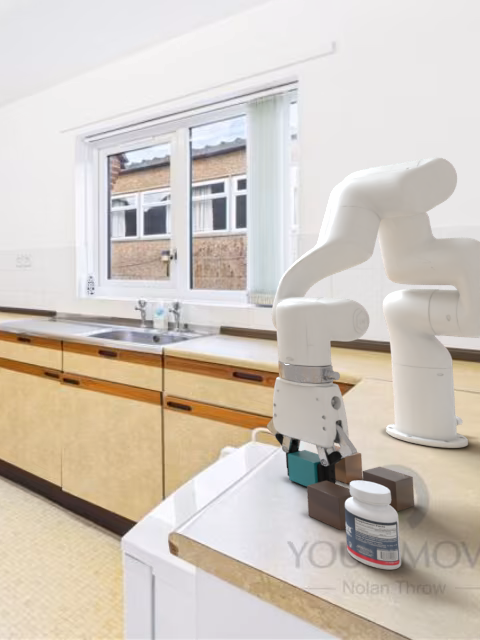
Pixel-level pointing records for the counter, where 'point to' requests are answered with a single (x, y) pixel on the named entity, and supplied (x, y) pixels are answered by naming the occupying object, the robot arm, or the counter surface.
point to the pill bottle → (372, 526)
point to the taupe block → (393, 486)
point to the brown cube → (328, 503)
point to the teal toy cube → (303, 467)
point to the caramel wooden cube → (349, 468)
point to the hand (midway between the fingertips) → (310, 480)
